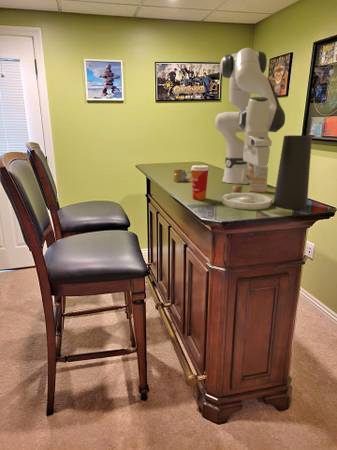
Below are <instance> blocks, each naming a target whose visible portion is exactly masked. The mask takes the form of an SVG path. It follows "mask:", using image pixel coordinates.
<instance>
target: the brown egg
mask: <svg viewBox="0 0 337 450" xmlns="http://www.w3.org/2000/svg"><path fill="white" fill-rule="evenodd" d="M231 193H242V185H240V184H239V185H238V184H237V185H235V184H234V185H232V190H231Z"/></svg>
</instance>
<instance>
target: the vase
mask: <svg viewBox="0 0 337 450" xmlns="http://www.w3.org/2000/svg"><path fill="white" fill-rule="evenodd" d="M312 139H313V137H312V136H311V135H291V134H290V135H284V136H283V141H282V146H281V147H282V149H281V154H280V159H279V160H280V161H279V165H278V172H277V178H276V184H275V189H274V198H273V201H272V204H273V206H274V207H276V208H280V209H285V210H304V209H306V208H308V207H307V206H308V198H309V197H308V195H309V184H310V183H309V181H310V169H311V167H310V166H311V157H312V156H311V154H312V142H313V141H312Z"/></svg>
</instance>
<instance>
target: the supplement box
mask: <svg viewBox="0 0 337 450" xmlns="http://www.w3.org/2000/svg"><path fill="white" fill-rule="evenodd" d="M253 166H254V165H253ZM268 172H269V165H267V166H266V167H260V170H259V176H258V180H250V183H249V193H264V194H266V193H267V189H268V185H267V184H268Z"/></svg>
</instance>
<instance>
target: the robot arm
mask: <svg viewBox="0 0 337 450" xmlns="http://www.w3.org/2000/svg"><path fill="white" fill-rule="evenodd" d="M267 66H268V59H267V54H266V53H265V52H264V51H258V50H257V51H255V50H254V49H253V48H251V47H245V48H242V49H240V50H239V51H238V52H236V53H232V54H231V53H227V54H226V55H223V57H221V61H220V63H219V70H220V71H219V72H220V73H221V76H222V77H223V78H227V79H229V84H228V85H229V86H228V87H229V88H228V92H229V93H228V101H229V103H230V104H231V106H233V107H235V108H237V109H238V110H239V111H225V112H219V113H218V114H217V115H216V116H215V118H214V119H215V120H214V126H215V128H216V130H217V131H218V132H219V133H220V134H221V135H222V136H223V138H224V140H225V144H226V146H225V147H226V155H225V156H226V157H225V159H224V160H225V162H224V164H225V166H224V170H223V177H222V181H221V182H223V183H226V184H234V185H235V184H237V185H238V184H239V185H240V184H241V185H242V184H243V185H248V184H250V180H249V179H248V169H249V166H253V165H254V171H253V176H258V174H259V170H260V167H266V166H268V164H269V159H270V152H271V150H270V147H271V146H272V139H271V138H270V137H269V132H270V133H276V132H278V131H280V130H281V129H282V128H283V127H284V125H285V124H286V123H285V122H286V113H285V111H284V109H283V107H282V106H281V104H280V101H279V99H278V96H277V93H276V91H275V88H274V85H273V83H272V81H271V79H270V78H269V77H267V75H265V74H264V73H265V72H266V69H267ZM251 94H255V95H258V96H253V97H251ZM237 133H244V139H242V138H240V137H238V136H237Z"/></svg>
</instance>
